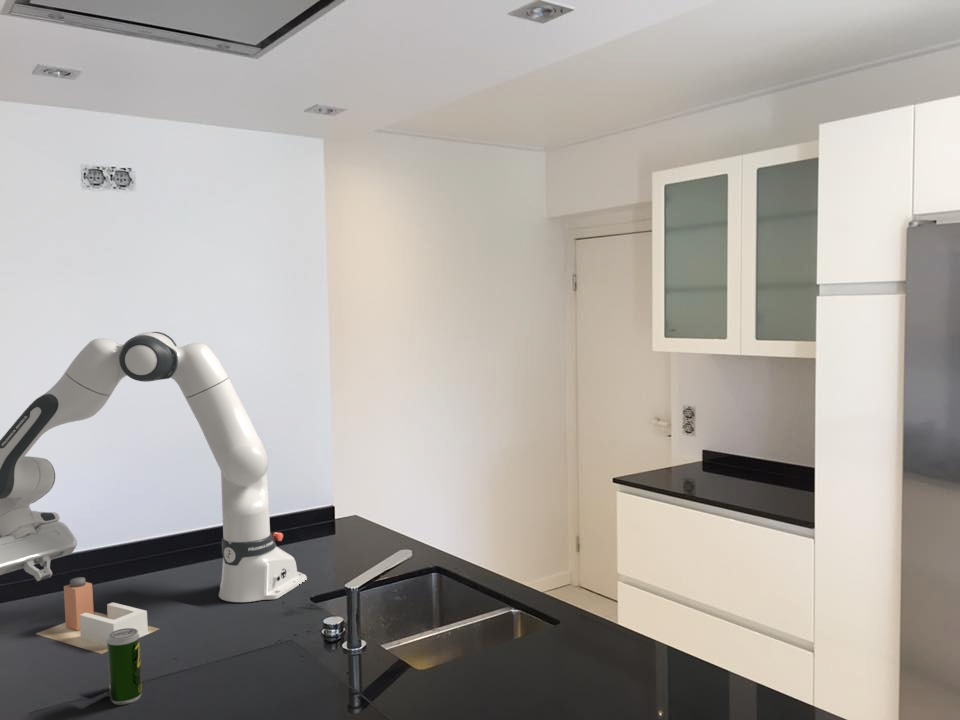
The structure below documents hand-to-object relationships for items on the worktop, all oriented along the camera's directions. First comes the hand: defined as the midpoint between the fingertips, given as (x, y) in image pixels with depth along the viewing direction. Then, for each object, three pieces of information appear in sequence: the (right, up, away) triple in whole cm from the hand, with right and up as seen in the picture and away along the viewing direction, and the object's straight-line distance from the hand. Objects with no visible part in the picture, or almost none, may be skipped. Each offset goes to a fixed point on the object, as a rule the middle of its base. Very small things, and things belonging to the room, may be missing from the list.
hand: (45, 577), depth 182 cm
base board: (+16, -11, -8) cm, 21 cm away
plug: (+10, -9, -5) cm, 15 cm away
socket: (+20, -9, -11) cm, 25 cm away
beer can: (+34, -12, -35) cm, 50 cm away
